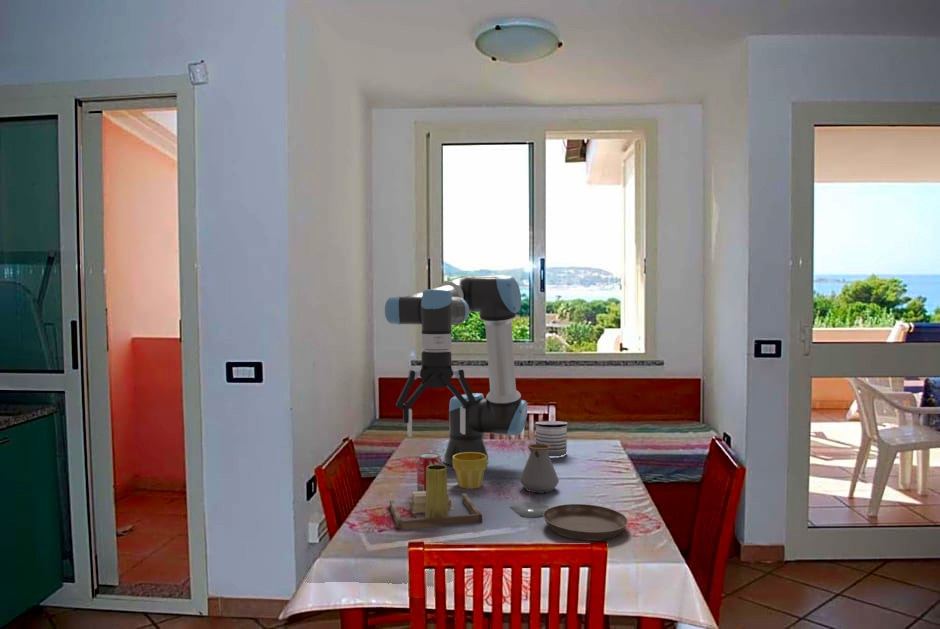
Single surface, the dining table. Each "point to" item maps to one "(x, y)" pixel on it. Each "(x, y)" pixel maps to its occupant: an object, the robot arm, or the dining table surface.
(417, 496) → the offcut top
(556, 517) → the plant saucer
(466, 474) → the plant pot
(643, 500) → the dining table surface
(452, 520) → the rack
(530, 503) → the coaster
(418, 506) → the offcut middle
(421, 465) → the soda can
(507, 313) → the robot arm
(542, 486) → the coffee pot
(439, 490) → the vase
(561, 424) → the can
